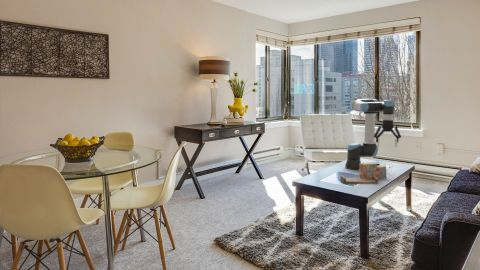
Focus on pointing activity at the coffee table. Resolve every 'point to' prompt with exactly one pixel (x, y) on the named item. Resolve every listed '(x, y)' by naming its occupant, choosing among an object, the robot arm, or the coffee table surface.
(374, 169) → the stack of blocks
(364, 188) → the coffee table surface
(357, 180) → the base board
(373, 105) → the robot arm
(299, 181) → the coffee table surface
